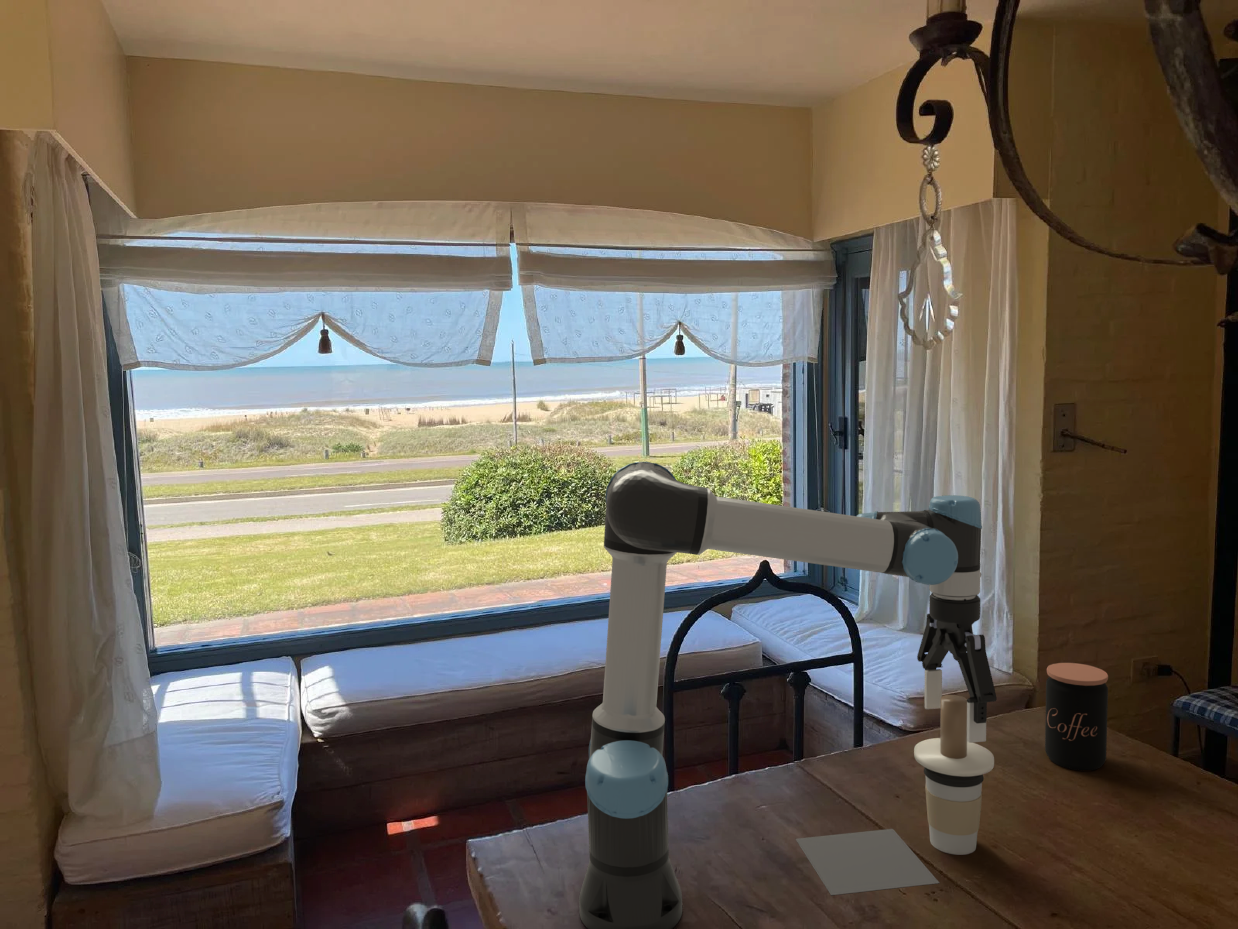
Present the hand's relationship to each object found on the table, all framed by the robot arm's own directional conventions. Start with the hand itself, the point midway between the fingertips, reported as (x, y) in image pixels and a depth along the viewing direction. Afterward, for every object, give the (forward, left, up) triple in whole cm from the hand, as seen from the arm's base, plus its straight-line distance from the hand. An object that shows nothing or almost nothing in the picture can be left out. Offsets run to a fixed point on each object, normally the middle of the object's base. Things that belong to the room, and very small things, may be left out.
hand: (953, 724), depth 140 cm
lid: (0, 0, -6) cm, 6 cm away
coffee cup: (0, 0, -21) cm, 21 cm away
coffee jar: (+39, +25, -21) cm, 51 cm away
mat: (-16, -2, -21) cm, 26 cm away
